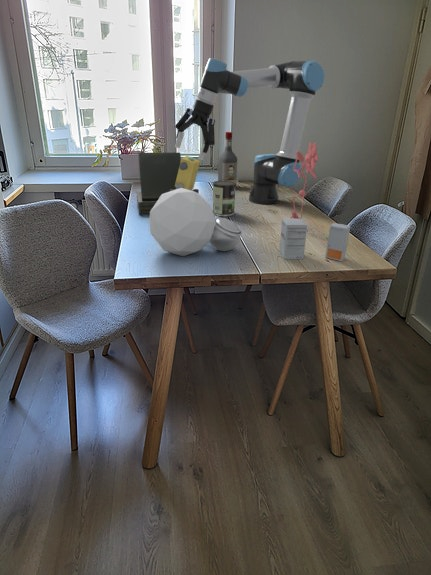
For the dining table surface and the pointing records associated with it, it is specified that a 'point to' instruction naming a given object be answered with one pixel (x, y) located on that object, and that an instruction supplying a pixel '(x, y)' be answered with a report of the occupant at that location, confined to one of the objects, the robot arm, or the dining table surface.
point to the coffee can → (223, 198)
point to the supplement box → (293, 238)
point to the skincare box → (337, 241)
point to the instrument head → (187, 172)
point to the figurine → (310, 167)
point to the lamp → (190, 224)
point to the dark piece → (156, 178)
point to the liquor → (227, 162)
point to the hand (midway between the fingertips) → (188, 153)
